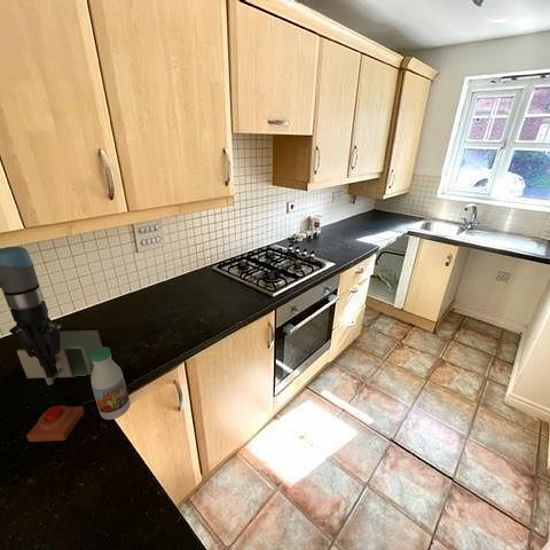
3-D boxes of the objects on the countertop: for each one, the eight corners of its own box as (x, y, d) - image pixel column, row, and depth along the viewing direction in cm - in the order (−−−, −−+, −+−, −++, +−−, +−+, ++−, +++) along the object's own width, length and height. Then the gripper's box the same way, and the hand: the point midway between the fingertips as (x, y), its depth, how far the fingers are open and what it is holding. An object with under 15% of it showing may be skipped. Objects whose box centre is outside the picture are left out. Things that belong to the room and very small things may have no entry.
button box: (28, 441, 76) (23, 430, 75) (51, 413, 85) (47, 402, 83) (65, 440, 77) (60, 428, 75) (84, 412, 85) (80, 401, 83)
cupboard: (48, 378, 98) (37, 347, 94) (65, 360, 106) (55, 331, 102) (92, 376, 99) (83, 345, 94) (105, 359, 107) (97, 330, 102)
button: (42, 422, 77) (40, 417, 77) (51, 411, 81) (49, 406, 80) (57, 421, 78) (55, 416, 77) (65, 410, 81) (63, 405, 80)
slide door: (12, 392, 91) (-1, 364, 87) (29, 376, 97) (18, 349, 93) (59, 391, 91) (49, 362, 87) (73, 375, 98) (64, 348, 94)
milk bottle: (94, 416, 84) (75, 356, 76) (116, 396, 90) (101, 340, 83) (114, 424, 81) (97, 363, 73) (136, 403, 88) (122, 346, 80)
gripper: (61, 297, 84) (81, 365, 93) (13, 298, 84) (38, 366, 93) (42, 310, 78) (67, 382, 86) (-9, 311, 77) (20, 384, 86)
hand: (52, 374), depth 90 cm, fingers closed
